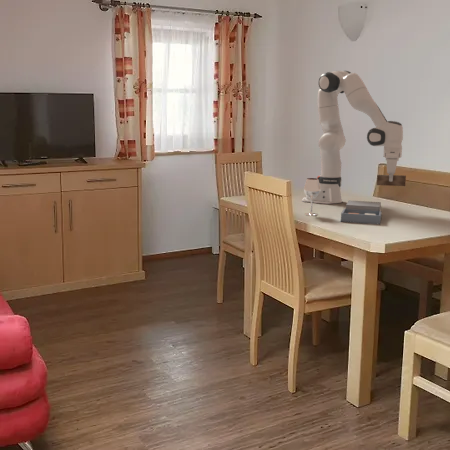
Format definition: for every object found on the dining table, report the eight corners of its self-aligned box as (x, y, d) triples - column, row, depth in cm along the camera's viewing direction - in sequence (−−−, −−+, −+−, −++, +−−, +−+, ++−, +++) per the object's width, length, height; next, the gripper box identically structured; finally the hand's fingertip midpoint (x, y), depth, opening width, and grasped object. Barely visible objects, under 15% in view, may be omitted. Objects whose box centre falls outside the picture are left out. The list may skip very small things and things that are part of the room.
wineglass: (301, 212, 309) (303, 177, 305) (318, 213, 309) (319, 177, 306) (304, 216, 301) (305, 179, 297) (320, 216, 301) (322, 180, 298)
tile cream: (365, 213, 294) (364, 218, 294) (364, 215, 289) (363, 220, 290) (375, 213, 292) (375, 219, 293) (374, 215, 288) (374, 220, 288)
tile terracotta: (348, 212, 294) (348, 217, 295) (347, 214, 290) (347, 219, 290) (359, 213, 293) (358, 218, 294) (358, 215, 288) (358, 220, 289)
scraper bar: (376, 185, 312) (377, 175, 311) (377, 184, 315) (377, 174, 314) (405, 186, 308) (405, 176, 307) (405, 185, 311) (405, 175, 310)
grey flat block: (345, 216, 301) (346, 204, 299) (348, 211, 314) (348, 200, 312) (378, 218, 296) (379, 206, 295) (380, 213, 309) (380, 202, 308)
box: (340, 221, 289) (341, 213, 288) (343, 216, 301) (343, 208, 300) (379, 224, 284) (380, 215, 283) (380, 219, 296) (381, 211, 295)
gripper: (386, 151, 319) (385, 178, 322) (385, 155, 300) (383, 183, 303) (399, 152, 318) (397, 178, 320) (398, 155, 298) (397, 183, 301)
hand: (390, 180), depth 311 cm, fingers closed on scraper bar, 3 cm apart
